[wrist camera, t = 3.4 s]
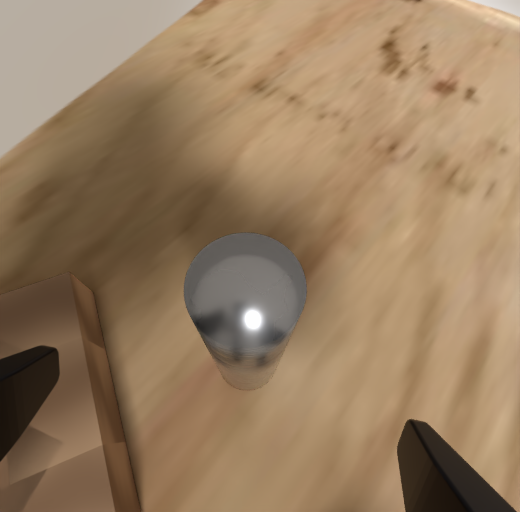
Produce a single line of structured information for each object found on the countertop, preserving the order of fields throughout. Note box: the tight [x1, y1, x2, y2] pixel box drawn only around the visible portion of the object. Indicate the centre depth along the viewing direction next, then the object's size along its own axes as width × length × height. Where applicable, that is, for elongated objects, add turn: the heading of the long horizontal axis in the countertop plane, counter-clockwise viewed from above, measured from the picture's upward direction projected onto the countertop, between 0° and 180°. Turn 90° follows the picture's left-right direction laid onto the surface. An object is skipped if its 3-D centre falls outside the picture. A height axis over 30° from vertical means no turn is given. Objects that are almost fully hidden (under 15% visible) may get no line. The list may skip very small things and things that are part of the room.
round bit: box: [184, 233, 307, 391], centre depth 14 cm, size 3×3×11 cm
